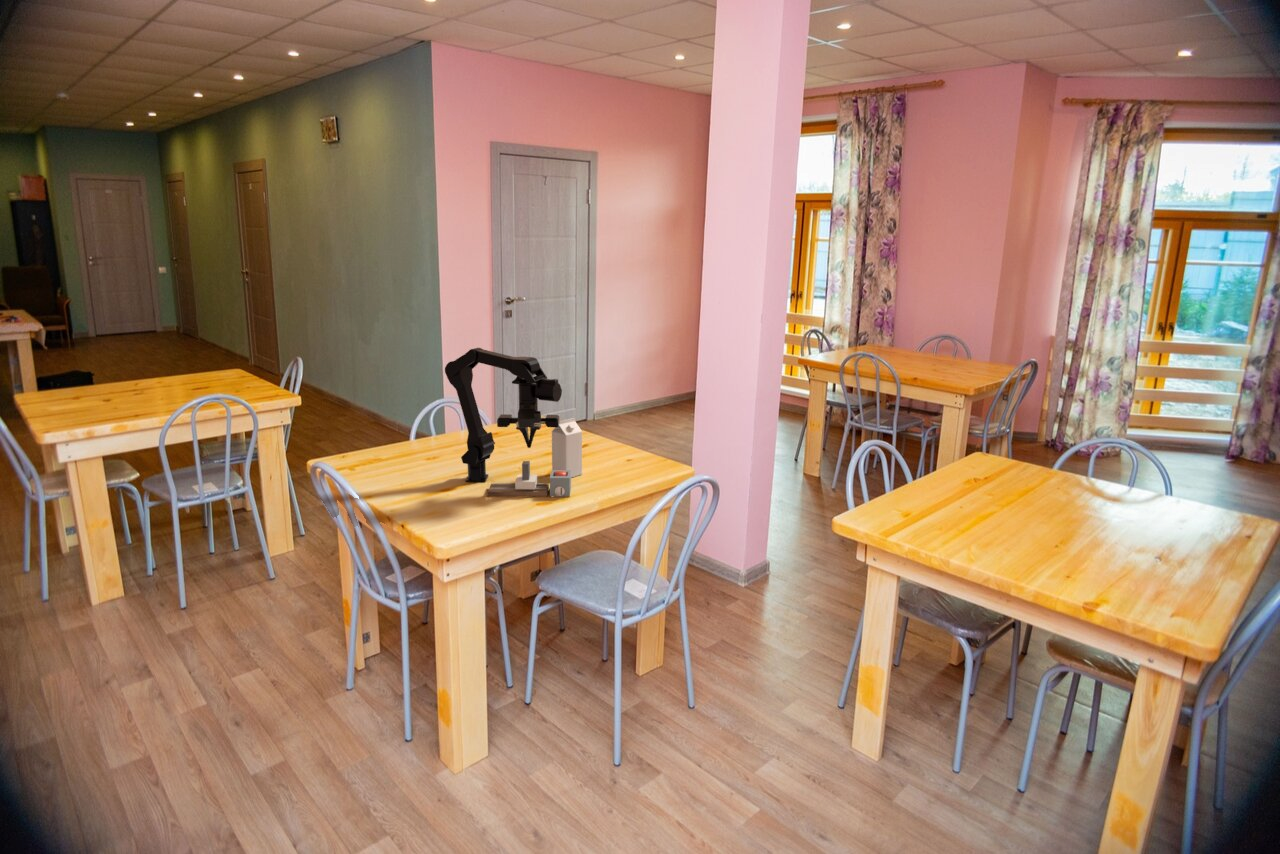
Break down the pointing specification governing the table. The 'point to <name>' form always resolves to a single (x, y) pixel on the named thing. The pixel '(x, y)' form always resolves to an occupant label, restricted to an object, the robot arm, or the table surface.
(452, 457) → the table surface
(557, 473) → the button
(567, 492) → the end cabinet
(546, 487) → the rail
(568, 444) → the milk carton
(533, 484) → the carriage
